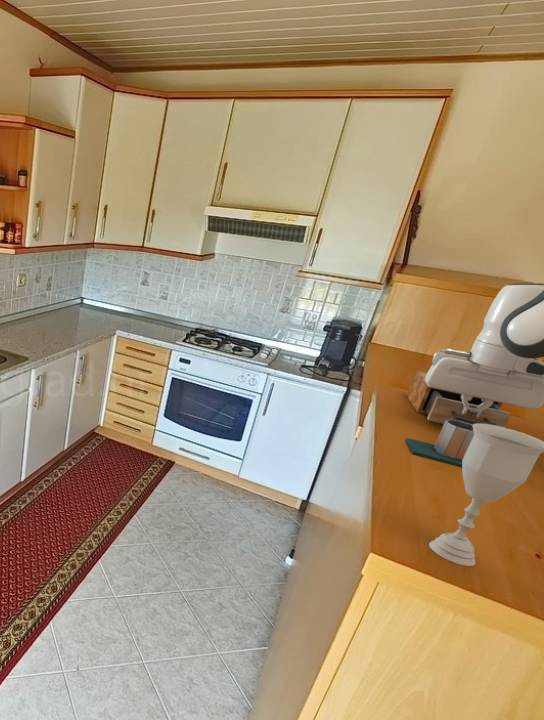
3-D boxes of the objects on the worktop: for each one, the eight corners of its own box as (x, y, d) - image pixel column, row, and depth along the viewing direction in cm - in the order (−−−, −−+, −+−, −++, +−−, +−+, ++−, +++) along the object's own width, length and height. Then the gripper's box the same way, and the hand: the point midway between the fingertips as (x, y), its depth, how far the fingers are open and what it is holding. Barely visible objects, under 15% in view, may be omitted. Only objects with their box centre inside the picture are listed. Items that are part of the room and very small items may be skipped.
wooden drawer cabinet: (490, 429, 116) (504, 400, 114) (416, 412, 123) (428, 384, 120) (472, 411, 129) (485, 384, 126) (407, 396, 135) (417, 370, 132)
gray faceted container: (464, 453, 99) (477, 424, 97) (472, 464, 94) (486, 434, 92) (430, 445, 101) (443, 416, 99) (437, 455, 97) (450, 426, 94)
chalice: (420, 553, 66) (476, 434, 60) (417, 530, 71) (468, 418, 65) (490, 579, 62) (557, 455, 56) (481, 552, 68) (542, 436, 62)
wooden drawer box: (508, 445, 105) (520, 421, 103) (432, 427, 111) (442, 404, 109) (482, 418, 121) (492, 396, 119) (417, 403, 126) (425, 383, 124)
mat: (488, 460, 98) (489, 458, 98) (501, 477, 92) (502, 474, 92) (405, 440, 104) (406, 437, 104) (412, 454, 98) (413, 451, 97)
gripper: (441, 349, 107) (417, 406, 112) (564, 371, 99) (532, 433, 104) (434, 343, 113) (411, 398, 117) (550, 364, 104) (521, 423, 109)
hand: (469, 415), depth 110 cm, fingers closed
